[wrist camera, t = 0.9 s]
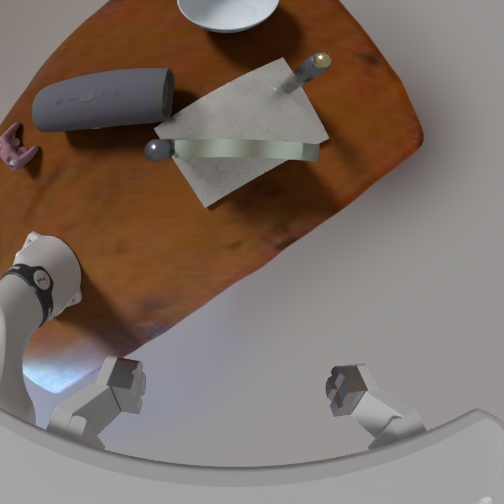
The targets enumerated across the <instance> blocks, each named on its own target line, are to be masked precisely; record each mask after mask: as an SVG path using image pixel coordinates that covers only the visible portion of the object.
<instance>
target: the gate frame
mask: <svg viewBox="0 0 504 504" xmlns="http://www.w3.org/2000/svg"><path fill="white" fill-rule="evenodd" d="M331 63H332V60H331V58H330V56H329V55H328V54H326V53H322V52H320V53H314V54H313V55H311V56H310V57H309V58H308V59H307V60H306V61H304V62H303V63H302V64H301V65H300V66H299V67H298V68H297V69H296V70H294V71H293V72H292V71H291V69H290V67H289V66H288V64H287V63H286V61H285V60H284V58H280V59H278V60H275V61H273V62H271V63H269V64H266V65H264V66H262V67H260V68H258V69H255V70H253V71H251V72H249V73H247V74H245V75H243V76H241V77H239V78H237V79H235V80H233V81H231V82H229V83H227V84H225V85H224V86H222V87H220V88H218V89H216V90H214V91H213V92H211V93H209V94H207V95H206V96H204V97H202V98H201V99H199V100H197V101H196V102H194V103H192V104H191V105H189V106H187V107H186V108H184V109H183V110H181V111H179V112H178V113H176V114H175V115H173V116H172V117H170V118H169V120H168V121H164V122H163V123H161V124H160V125H158V126H157V127H155V128H154V130H155V131H156V133H157V135H158V136H159V138H160V139H154V140H151V141H150V142H148V143H147V145H146V147H145V156H146V157H147V159H148V160H150V161H153V162H157V161H160V160H163V159H166V158H169V157H172V158H173V159H174V161H175V163H176V164H177V166H178V167H179V169H180V170H181V172H182V173H183V175H184V176H185V178H186V180H187V181H188V183H189V184H190V186H191V187H192V189H193V190H194V192H195V193H196V195H197V196H198V198H199V199H200V201H201V203H202V204H203V206H204V207H205V208H206V207H208V206H209V205H211V204H212V203H214V202H216V201H217V200H219V199H221V198H222V197H224V196H226V195H227V194H229V193H231V192H232V191H234V190H236V189H237V188H239V187H241V186H243V185H244V184H246V183H248V182H249V181H251V180H253V179H255V178H256V177H258V176H260V175H262V174H263V173H265V172H267V171H269V170H271V169H272V168H274V167H276V166H278V165H280V164H281V163H283V162H285V161H287V160H289V159H275V158H250V157H189V158H175V140H190V139H248V140H271V141H286V142H299V143H310V144H319V143H321V142H323V141H325V140H327V139H329V137H328V135H327V133H326V131H325V129H324V127H323V125H322V123H321V121H320V119H319V117H318V115H317V114H316V112H315V110H314V108H313V106H312V104H311V103H310V101H309V99H308V97H307V96H306V94H305V92H304V90H303V89H302V87H301V86H302V85H304V84H306V83H307V82H309V81H310V80H312V79H314V78H315V77H317V76H319V75H320V74H322V73H324V72H325V71H327V70H328V69H329V68H330V66H331Z"/></svg>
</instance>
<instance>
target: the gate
mask: <svg viewBox="0 0 504 504" xmlns="http://www.w3.org/2000/svg"><path fill="white" fill-rule="evenodd" d="M319 149H320V145H319V144H310V143H299V142H286V141H271V140H248V139H190V140H175V158H189V157H250V158H275V159H292V160H306V161H318V162H319Z"/></svg>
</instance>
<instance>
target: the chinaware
mask: <svg viewBox="0 0 504 504" xmlns="http://www.w3.org/2000/svg"><path fill="white" fill-rule="evenodd" d="M278 2H279V0H177V3H178V6H179V9H180V10H181V12H182V13H183V15H184V16H185V17H186V18H187V19H188V20H189V21H191V22H192V23H193V24H195V25H197V26H199V27H201V28H203V29H206V30H209V31H213V32H219V33H234V32H240V31H244V30H247V29H250V28H252V27H254V26H256V25H258V24H260V23H261V22H263V21H264V20H266V19H267V18H268V17H269V16H270V15H271V14H272V13H273V12H274V10H275V9H276V7H277V5H278Z"/></svg>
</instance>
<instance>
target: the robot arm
mask: <svg viewBox="0 0 504 504" xmlns="http://www.w3.org/2000/svg"><path fill="white" fill-rule="evenodd" d="M80 283H81V270H80V266H79V263H78V260H77V258H76V256H75V255H74V253H73V252H72V250H71V249H70V248H69V247H68V246H67V245H66V244H65V243H64V242H63V241H61V240H60V239H58V238H56V237H53V236H42V235H40V234H38V233H36V232H31V233H30V234H29V235H28V237H27V239H26V242H25V244H24V246H23V248H22V250H20V251H19V252H18V253H17V254H16V258H15V260H14V263H13V266H12V267H11V268H9V269H8V270H7V271H6V273H5V274H4V275H3V276H2V278H1V280H0V504H504V423H503V422H502V421H501V420H500V419H499V418H498V417H496V416H494V415H492V414H490V413H488V412H486V411H484V410H481V409H473V410H471V411H469V412H467V413H465V414H464V415H461V416H459V417H457V418H455V419H453V420H451V421H449V422H447V423H445V424H442V425H440V426H438V427H435V428H433V429H430V430H428V431H427V430H426V428H425V427H424V425H423V423H422V421H421V419H420V417H419V415H418V413H417V412H416V411H415V410H413V409H412V408H410V407H409V406H407V405H406V404H404V403H403V402H401V401H399V400H398V399H396V398H395V397H393V396H392V395H390V394H389V393H387V392H386V391H384V390H383V389H381V388H380V389H378V387H377V385H376V383H375V381H374V379H373V377H372V375H371V373H370V371H369V369H368V367H367V365H366V364H355V365H345V366H335V367H334V368H333V369H332V371H331V374H332V376H331V377H329V378H328V380H327V383H326V394H327V398H329V399H330V400H331V401H332V402H331V404H330V407H331V410H332V413H333V415H334V417H335V416H342V415H350V414H351V416H352V417H353V418H354V419H355V420H356V421H357V422H358V423H359V424H360V425H361V426H363V427H364V428H365V429H366V430H367V431H368V432H369V433H370V434H371V435H372V436H373V437H375V438H376V439H375V440H374V441H373V442H372V443H371V444H370V445H369V447H368V448H369V450H367V451H363V452H359V453H355V454H351V455H346V456H341V457H336V458H331V459H326V460H319V461H313V462H305V463H297V464H287V465H276V466H259V467H214V466H198V465H185V464H176V463H168V462H161V461H154V460H149V459H143V458H138V457H133V456H128V455H123V454H119V453H115V452H111V451H107V450H104V448H105V446H104V445H103V443H102V442H101V441H100V439H99V438H98V436H97V435H98V434H99V433H100V432H101V431H102V430H103V429H104V428H105V427H106V426H107V425H109V424H110V423H111V422H112V421H113V420H114V419H115V418H116V417H117V416H118V415H119V414H120V413H121V411H123V412H129V413H135V414H140V410H141V406H142V400H141V396H142V395H144V393H145V388H146V378H145V374H144V373H143V372H142V369H143V365H142V362H141V361H135V360H130V359H124V358H119V357H113V356H107V357H106V358H105V361H104V363H103V365H102V368H101V370H100V373H99V375H98V377H97V380H96V382H95V383H91V384H90V385H88V386H86V387H85V388H83V389H82V390H80V391H79V392H77V393H76V394H75V395H73V396H72V397H70V398H69V399H67V400H66V401H64V402H63V403H61V404H60V405H58V406H57V407H55V410H54V412H53V415H52V417H51V419H50V422H49V424H48V426H47V429H46V430H45V429H43V428H40V427H38V426H36V425H35V420H36V418H35V409H34V406H33V402H32V400H31V398H30V396H29V394H28V391H27V389H26V386H25V382H24V377H23V367H22V366H23V356H24V352H25V349H26V347H27V345H28V343H29V341H30V340H31V338H32V336H33V335H34V333H35V331H36V330H37V329H38V328H39V327H41V326H42V325H43V324H44V323H45V322H46V321H47V320H51V319H53V318H54V317H55V316H58V315H59V314H60V313H61V312H62V311H63V310H64V309H65V308H66V307H69V306H71V305H74V304H77V303H79V302H80V301H81V300H82V293H81V289H80ZM73 298H74V299H73Z"/></svg>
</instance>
